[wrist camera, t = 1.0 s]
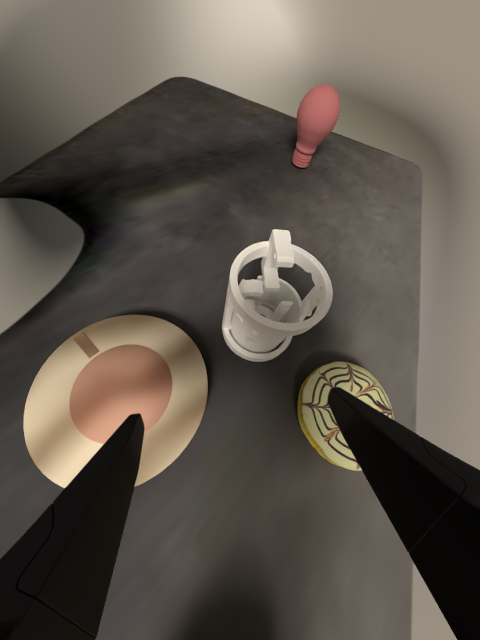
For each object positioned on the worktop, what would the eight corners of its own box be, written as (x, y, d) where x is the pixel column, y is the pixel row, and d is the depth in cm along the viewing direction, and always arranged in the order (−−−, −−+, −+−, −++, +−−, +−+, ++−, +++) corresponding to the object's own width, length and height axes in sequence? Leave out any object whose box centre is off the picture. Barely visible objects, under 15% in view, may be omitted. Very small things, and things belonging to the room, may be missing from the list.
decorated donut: (393, 417, 25) (422, 418, 22) (340, 489, 22) (366, 503, 18) (331, 350, 28) (349, 341, 25) (274, 404, 24) (286, 402, 21)
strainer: (271, 319, 28) (329, 232, 15) (277, 371, 25) (355, 323, 12) (219, 318, 27) (230, 224, 14) (219, 372, 24) (233, 321, 11)
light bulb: (299, 181, 42) (331, 100, 31) (275, 161, 44) (298, 78, 33) (321, 171, 45) (357, 93, 34) (298, 152, 46) (325, 73, 36)
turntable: (238, 389, 22) (240, 388, 21) (98, 543, 16) (91, 551, 15) (145, 293, 26) (142, 288, 25) (-3, 392, 19) (-14, 391, 18)
